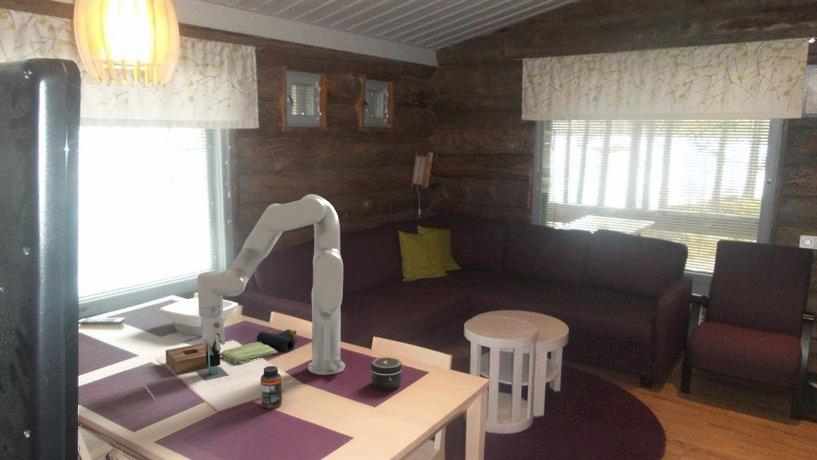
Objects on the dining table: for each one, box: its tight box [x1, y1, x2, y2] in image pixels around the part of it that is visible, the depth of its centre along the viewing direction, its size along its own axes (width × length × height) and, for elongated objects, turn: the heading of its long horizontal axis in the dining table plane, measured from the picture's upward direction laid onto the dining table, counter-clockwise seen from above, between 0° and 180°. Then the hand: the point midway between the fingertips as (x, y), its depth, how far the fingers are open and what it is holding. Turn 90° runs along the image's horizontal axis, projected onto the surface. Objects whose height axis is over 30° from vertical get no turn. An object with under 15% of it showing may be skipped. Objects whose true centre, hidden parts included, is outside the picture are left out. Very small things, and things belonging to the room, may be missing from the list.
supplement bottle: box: [260, 365, 283, 410], centre depth 168 cm, size 6×6×11 cm
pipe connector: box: [256, 329, 297, 353], centre depth 221 cm, size 12×5×15 cm
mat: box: [196, 366, 230, 381], centre depth 191 cm, size 9×8×1 cm
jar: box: [370, 356, 403, 391], centre depth 185 cm, size 10×10×8 cm
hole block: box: [165, 342, 209, 376], centre depth 198 cm, size 13×13×5 cm
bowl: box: [158, 296, 239, 337], centre depth 237 cm, size 24×25×10 cm
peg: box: [208, 344, 219, 375], centre depth 190 cm, size 3×3×10 cm
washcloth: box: [220, 341, 278, 366], centre depth 209 cm, size 13×18×3 cm
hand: (213, 363), depth 191 cm, fingers closed on peg, 3 cm apart
